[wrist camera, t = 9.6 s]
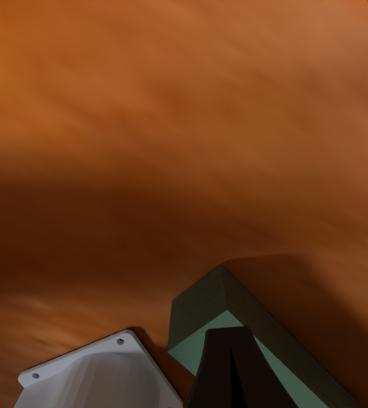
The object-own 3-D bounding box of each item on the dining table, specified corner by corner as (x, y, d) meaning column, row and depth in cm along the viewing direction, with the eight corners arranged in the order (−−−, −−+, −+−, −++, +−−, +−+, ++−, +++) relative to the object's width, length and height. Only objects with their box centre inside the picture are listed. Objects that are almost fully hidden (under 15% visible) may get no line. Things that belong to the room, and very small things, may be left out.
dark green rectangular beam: (359, 403, 23) (396, 476, 19) (312, 428, 24) (338, 502, 20) (220, 263, 20) (227, 313, 15) (172, 299, 21) (166, 356, 16)
